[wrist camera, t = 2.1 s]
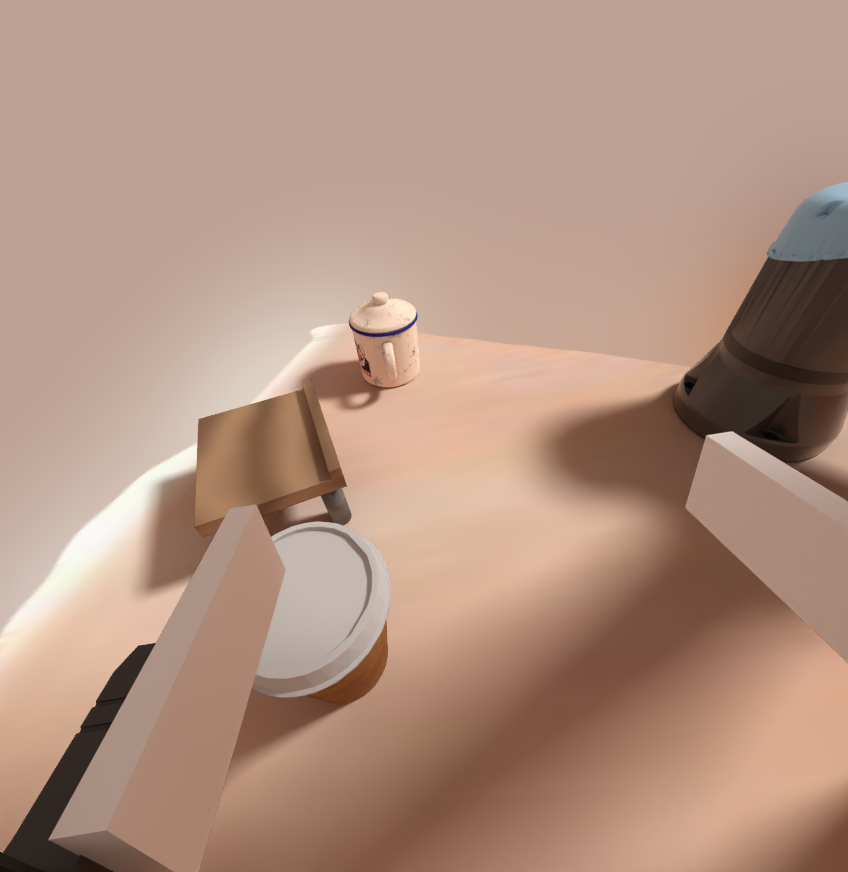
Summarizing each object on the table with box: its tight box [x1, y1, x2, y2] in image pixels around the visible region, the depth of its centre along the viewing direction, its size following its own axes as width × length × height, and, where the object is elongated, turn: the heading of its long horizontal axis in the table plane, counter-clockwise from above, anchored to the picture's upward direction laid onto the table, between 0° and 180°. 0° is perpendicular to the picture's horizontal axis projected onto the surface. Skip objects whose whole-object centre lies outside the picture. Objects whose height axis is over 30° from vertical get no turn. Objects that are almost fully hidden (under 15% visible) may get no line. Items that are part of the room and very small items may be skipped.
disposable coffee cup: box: [252, 522, 391, 703], centre depth 25 cm, size 10×10×12 cm
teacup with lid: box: [349, 292, 420, 387], centre depth 51 cm, size 12×9×12 cm
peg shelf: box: [194, 379, 351, 537], centre depth 38 cm, size 12×14×8 cm
